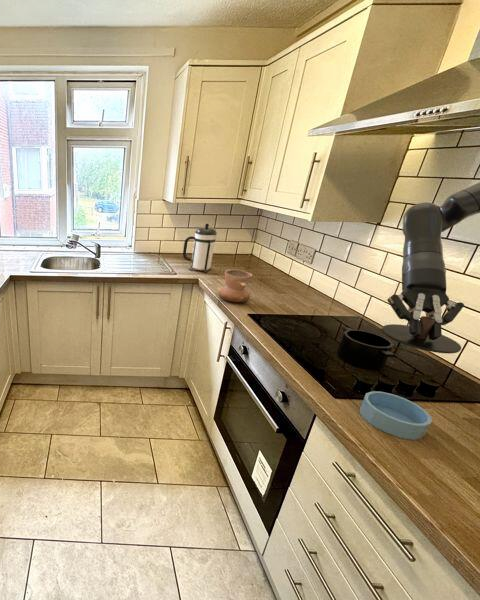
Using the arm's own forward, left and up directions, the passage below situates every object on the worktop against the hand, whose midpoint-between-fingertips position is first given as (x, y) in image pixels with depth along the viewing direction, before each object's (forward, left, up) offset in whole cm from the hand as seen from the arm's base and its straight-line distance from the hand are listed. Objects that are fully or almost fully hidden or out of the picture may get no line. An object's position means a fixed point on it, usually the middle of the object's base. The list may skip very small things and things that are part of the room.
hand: (425, 337), depth 75 cm
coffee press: (+7, -133, -24) cm, 135 cm away
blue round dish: (+1, +2, -24) cm, 24 cm away
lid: (-1, -2, -1) cm, 3 cm away
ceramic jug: (+6, -82, -24) cm, 85 cm away
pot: (-14, -27, -24) cm, 39 cm away
